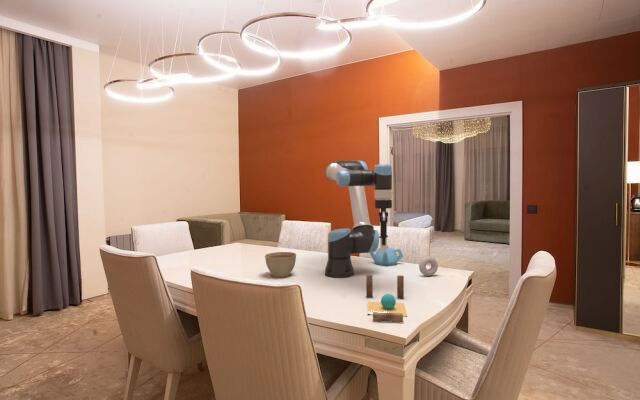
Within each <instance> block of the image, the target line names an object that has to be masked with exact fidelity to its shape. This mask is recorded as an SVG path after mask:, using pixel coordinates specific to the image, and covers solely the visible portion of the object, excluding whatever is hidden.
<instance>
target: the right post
mask: <svg viewBox="0 0 640 400" xmlns="http://www.w3.org/2000/svg"><path fill="white" fill-rule="evenodd" d="M396 277H397V278H396V279H397V281H396V285H397V286H396V288H397V289H396V294H397V295H396V298H397V299H399V300H403V299H404V298H405V296H404V295H405V294H404V293H405V289H404V288H405V286H404V285H405V283H404V282H405V276H404V275H401V274H400V275H397V276H396Z"/></svg>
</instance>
